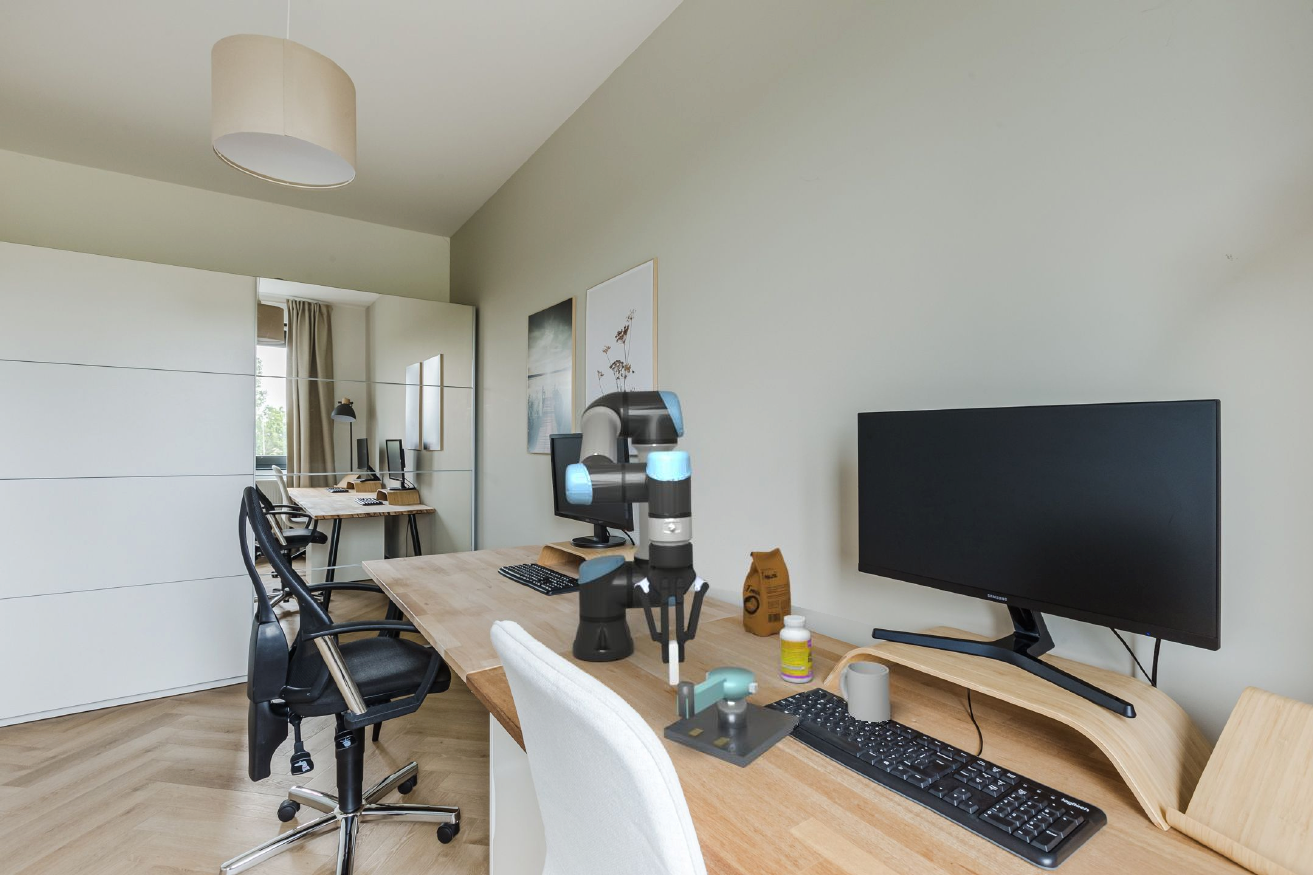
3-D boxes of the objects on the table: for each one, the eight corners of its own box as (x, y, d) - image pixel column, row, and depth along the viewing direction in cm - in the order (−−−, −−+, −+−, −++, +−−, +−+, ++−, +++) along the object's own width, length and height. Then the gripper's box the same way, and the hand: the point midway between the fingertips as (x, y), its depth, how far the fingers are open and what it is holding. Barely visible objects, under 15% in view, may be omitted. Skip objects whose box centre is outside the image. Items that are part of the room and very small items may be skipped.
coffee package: (738, 630, 162) (735, 549, 163) (771, 622, 169) (769, 545, 170) (762, 638, 154) (759, 554, 155) (796, 630, 160) (794, 549, 161)
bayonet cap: (720, 675, 109) (719, 649, 109) (768, 688, 102) (767, 660, 102) (656, 709, 95) (656, 679, 95) (707, 726, 88) (706, 694, 88)
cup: (873, 730, 101) (871, 678, 101) (827, 710, 110) (826, 662, 110) (899, 720, 105) (897, 669, 105) (853, 701, 113) (851, 654, 114)
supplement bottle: (813, 685, 122) (811, 622, 122) (780, 683, 123) (779, 621, 124) (811, 673, 128) (809, 614, 129) (780, 672, 130) (778, 613, 130)
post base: (663, 737, 100) (663, 695, 101) (724, 702, 114) (723, 666, 114) (743, 767, 90) (742, 721, 90) (799, 725, 104) (798, 685, 104)
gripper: (632, 546, 96) (635, 692, 95) (712, 543, 97) (715, 688, 96) (631, 539, 103) (634, 675, 103) (705, 537, 104) (708, 671, 104)
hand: (673, 681), depth 99 cm, fingers closed
